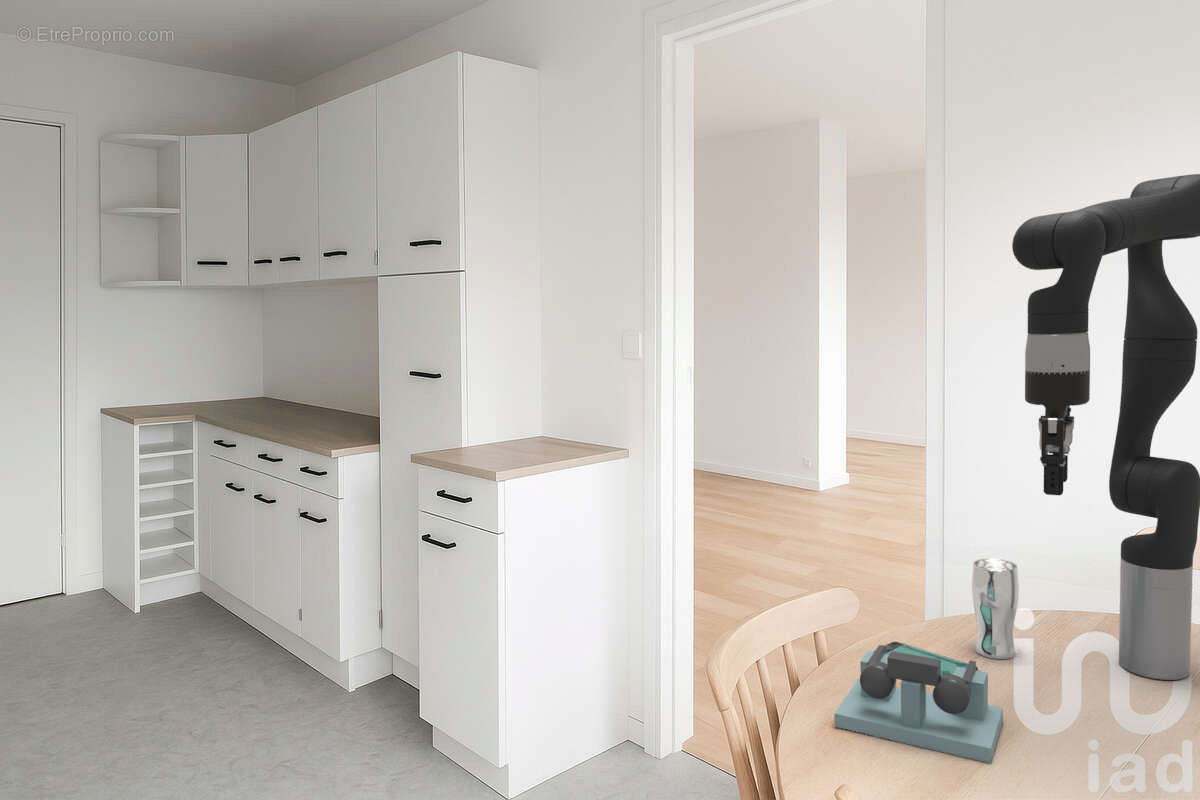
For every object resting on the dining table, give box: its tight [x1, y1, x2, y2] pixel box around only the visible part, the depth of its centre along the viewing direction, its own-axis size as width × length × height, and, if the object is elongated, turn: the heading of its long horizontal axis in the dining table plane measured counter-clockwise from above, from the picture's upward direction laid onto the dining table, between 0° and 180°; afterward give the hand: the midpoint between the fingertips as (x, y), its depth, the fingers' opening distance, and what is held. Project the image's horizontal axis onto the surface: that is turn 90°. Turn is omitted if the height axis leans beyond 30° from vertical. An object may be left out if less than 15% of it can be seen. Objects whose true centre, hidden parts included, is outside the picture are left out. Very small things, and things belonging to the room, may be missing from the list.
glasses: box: [859, 644, 977, 714], centre depth 115 cm, size 9×14×6 cm
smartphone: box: [872, 641, 979, 677], centre depth 134 cm, size 7×1×15 cm
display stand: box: [833, 650, 1004, 764], centre depth 115 cm, size 12×20×8 cm, turn 57°
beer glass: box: [971, 558, 1020, 660], centre depth 136 cm, size 7×7×15 cm
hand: (1055, 487), depth 111 cm, fingers open, 8 cm apart
